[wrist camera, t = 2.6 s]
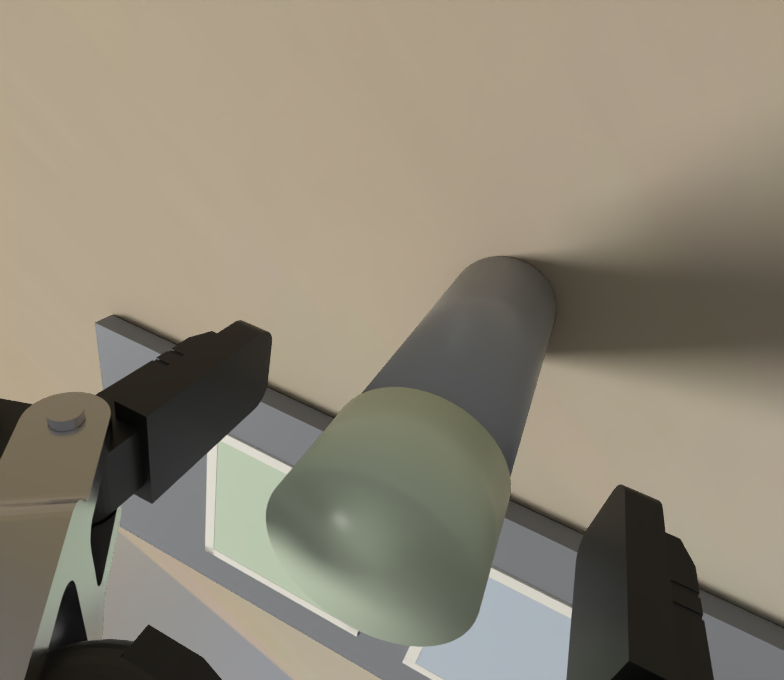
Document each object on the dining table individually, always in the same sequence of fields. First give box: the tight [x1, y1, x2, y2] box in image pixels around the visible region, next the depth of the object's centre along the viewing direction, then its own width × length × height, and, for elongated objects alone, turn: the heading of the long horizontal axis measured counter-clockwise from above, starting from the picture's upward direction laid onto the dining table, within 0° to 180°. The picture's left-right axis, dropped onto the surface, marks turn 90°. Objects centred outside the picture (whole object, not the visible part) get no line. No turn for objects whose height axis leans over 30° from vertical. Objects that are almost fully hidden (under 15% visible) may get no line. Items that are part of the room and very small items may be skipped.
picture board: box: [95, 315, 784, 680], centre depth 24 cm, size 38×16×3 cm, turn 77°
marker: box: [266, 256, 556, 647], centre depth 13 cm, size 4×4×11 cm
